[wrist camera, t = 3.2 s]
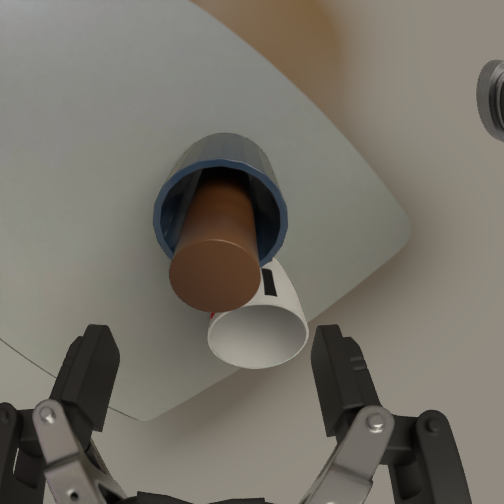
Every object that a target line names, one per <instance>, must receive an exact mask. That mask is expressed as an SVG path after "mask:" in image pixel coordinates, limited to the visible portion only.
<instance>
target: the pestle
mask: <svg viewBox="0 0 504 504" xmlns="http://www.w3.org/2000/svg"><path fill="white" fill-rule="evenodd" d="M169 278H170V283H171V286H172V288H173V290H174V292H175V293H176V294H177V296H178V297H179V298H180V299H181V300H182V301H183V302H185V303H186V304H188V305H189V306H191V307H193V308H195V309H198V310H201V311H205V312H211V313H223V312H229V311H233V310H236V309H238V308H240V307H242V306H244V305H245V304H247V303H248V302H249V301H250V300H251V299H252V298H253V297H254V296H255V294H256V293H257V291H258V289H259V286H260V282H261V272H260V263H259V255H258V246H257V238H256V230H255V222H254V213H253V205H252V197H251V189H250V181H249V175H248V173H246V172H244V171H243V170H239V169H234V168H229V167H223V166H218V167H210V168H203V170H202V172H201V174H200V177H199V180H198V183H197V185H196V188H195V191H194V194H193V197H192V200H191V203H190V206H189V209H188V211H187V214H186V217H185V220H184V223H183V227H182V230H181V233H180V236H179V239H178V242H177V245H176V248H175V252H174V255H173V258H172V261H171V265H170V269H169Z"/></svg>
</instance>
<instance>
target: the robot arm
mask: <svg viewBox="0 0 504 504" xmlns="http://www.w3.org/2000/svg"><path fill="white" fill-rule="evenodd" d="M495 107H496V113H497V117H498V120H499V123H500V125H501V127H502V128H503V130H504V73H503V74H502V75H501V77H500V78H499V80H498V83H497V86H496V92H495ZM119 363H120V354H119V350H118V347H117V345H116V343H115V340H114V338H113V336H112V333H111V331H110V329H109V327H108V326H107V325H95V324H90V325H88V327H87V328H86V331H85V333H84V335H83V337H82V336H78V337H77V339H76V340H75V341H74V342H73V343H72V344H71V345H70V347H69V350H68V352H67V354H66V358H65V359H64V361H63V366H61V369H60V371H59V374H58V376H57V379H56V381H55V384H54V387H53V389H52V392H51V395H50V397H49V399H46V400H43V401H41V402H40V403H38V404H37V405H36V407H35V409H28V410H16V409H15V408H14V407H13V406H12V405H11V404H10V403H6V402H3V403H0V504H43V497H44V490H45V482H46V481H47V483H48V486H49V488H50V490H51V493H52V495H53V497H54V499H55V501H56V504H192V503H189V502H186V501H183V500H180V499H177V498H173V497H171V496H167V495H161V494H152V493H145V492H140V491H138V492H137V496H134V497H129V498H128V497H127V496H126V494H125V493H124V491H123V490H122V488H121V487H120V486H119V485H118V483H117V482H116V481H115V480H114V479H113V478H112V476H111V474H110V473H109V471H108V469H107V467H106V465H105V463H104V461H103V460H102V458H101V456H100V454H99V452H98V450H97V448H96V446H95V444H94V442H93V440H92V438H91V435H92V430H94V431H98V432H102V430H103V425H104V421H105V417H106V413H107V408H108V404H109V400H110V397H111V393H112V389H113V385H114V381H115V378H116V374H117V371H118V367H119ZM311 364H312V370H313V374H314V379H315V383H316V387H317V392H318V397H319V401H320V406H321V411H322V416H323V420H324V425H325V430H326V435H327V437H331V436H336V440H337V445H336V447H335V449H334V450H333V452H332V454H331V456H330V457H329V459H328V460H327V462H326V464H325V465H324V467H323V469H322V470H321V472H320V474H319V475H318V477H317V478H316V480H315V481H314V483H313V484H312V486H311V487H310V488H309V490H308V491H307V492H306V494H305V495H304V496H303V498H302V499H301V501H300V502H299V504H364V502H365V500H366V498H367V496H368V494H369V492H370V490H371V488H372V485H373V481H372V478H373V475H374V473H375V471H376V469H377V467H378V465H379V464H383V465H388V468H389V474H390V479H391V484H392V490H393V495H394V501H395V504H472V502H471V498H470V493H469V489H468V485H467V481H466V477H465V473H464V470H463V466H462V463H461V459H460V456H459V452H458V449H457V446H456V443H455V440H454V437H453V434H452V430H451V428H450V425H449V422H448V420H447V418H446V417H445V415H444V414H442V413H441V412H439V411H436V410H427V411H425V412H423V413H422V414H421V415H420V416H419V417H407V416H406V417H405V416H397V415H393V414H391V413H390V412H389V411H388V410H387V409H385V408H384V407H383V406H382V405H381V403H380V401H379V399H378V396H377V393H376V390H375V387H374V384H373V381H372V379H371V376H370V373H369V370H368V369H367V365H366V362H365V360H364V357H363V354H362V351H361V349H360V346H359V345H358V344H357V343H356V342H355V341H354V340H353V339H352V338H351V337H342V334H341V331H340V328H339V326H338V325H337V324H334V325H321V326H317V329H316V333H315V337H314V341H313V346H312V350H311ZM17 448H19V452H18V456H17V461H16V465H15V470H14V474H13V466H14V462H15V457H16V452H17ZM209 504H273V503H268V502H265V500H264V498H250V499H249V498H248V499H230V500H225V501H220V502H215V503H209Z"/></svg>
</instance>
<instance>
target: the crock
mask: <svg viewBox="0 0 504 504" xmlns="http://www.w3.org/2000/svg"><path fill="white" fill-rule="evenodd" d="M218 166H223V167H229V168H234V169H239V170H243V171H244V172H246V173H248V175H249V181H250V189H251V197H252V205H253V213H254V222H255V230H256V238H257V246H258V255H259V263H260V268H262V267H263V266H264V265H266V264H267V263H268V262H270V261H271V260H272V259H273V257H274V256H275V255H276V253H277V252H278V250H279V249H280V248H281V246H282V245H283V242H284V238H285V235H286V232H287V229H288V215H287V206H286V204H285V201H284V198H283V196H282V193H281V190H280V188H279V185H278V182H277V180H276V177H275V174H274V172H273V169H272V167H271V164H270V162H269V160H268V158H267V156H266V154H265V153H264V152H263V150H262V149H261V148H260V147H259V146H258V145H257V144H255V143H254V142H253V141H251V140H249V139H248V138H245V137H243V136H240V135H237V134H231V133H219V134H213V135H209V136H207V137H204V138H202V139H200V140H199V141H197V142H196V143H194V144H193V145H192V146H191V147H190V148H189V149H188V150H187V151H186V152H185V153H184V155H183V156H182V158H181V159H180V161H179V162H178V164H177V165H176V166H175V168H174V170H173V171H172V173H171V174H170V176H169V177H168V179H167V180H166V182H165V183H164V185H163V187H162V189H161V191H160V193H159V195H158V197H157V199H156V202H155V205H154V214H153V226H154V230H155V233H156V237H157V241H158V243H159V244H160V246H161V247H162V249H163V250H164V252H165V253H166V255H167V256H168V257H169V258H170V259H171V260H172V258H173V255H174V252H175V248H176V245H177V242H178V239H179V236H180V233H181V230H182V227H183V223H184V220H185V217H186V214H187V211H188V209H189V206H190V203H191V200H192V197H193V194H194V191H195V188H196V185H197V183H198V180H199V177H200V174H201V172H202V170H203V168H210V167H218Z"/></svg>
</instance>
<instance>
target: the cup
mask: <svg viewBox="0 0 504 504" xmlns="http://www.w3.org/2000/svg"><path fill="white" fill-rule="evenodd" d="M260 272H261V282H260V286H259V289H258V291H257V293H256V294H255V296H254V297H253V298H252V299H251V300H250V301H249V302H248V303H247V304H245V305H244V306H242V307H240V308H238V309H236V310H233V311H229V312H223V313H211V316H210V322H209V328H208V335H207V340H208V345H209V347H210V349H211V350H212V352H213V353H214V354H215V355H216V356H217V357H218V358H219V359H221V360H222V361H224V362H226V363H228V364H231V365H234V366H237V367H242V368H251V369H253V368H254V369H255V368H267V367H272V366H275V365H278V364H281V363H284V362H286V361H288V360H290V359H291V358H293V357H294V356H296V355H297V354H298V353H299V352H300V351H301V350H302V349H303V347H304V346H305V344H306V342H307V340H308V335H309V330H308V325H307V322H306V320H305V317H304V314H303V311H302V308H301V305H300V302H299V299H298V296H297V293H296V291H295V289H294V287H293V285H292V283H291V281H290V279H289V278H288V276H287V274H286V272H285V270H284V268H283V267H282V265H281V264H280V263H279V262H278V261H277V260H276V259H275V258H274V257H273V259H272V260H271V261H270V262H268V263H267V264H266V265H264V266H263V267H262V268H260Z"/></svg>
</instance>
